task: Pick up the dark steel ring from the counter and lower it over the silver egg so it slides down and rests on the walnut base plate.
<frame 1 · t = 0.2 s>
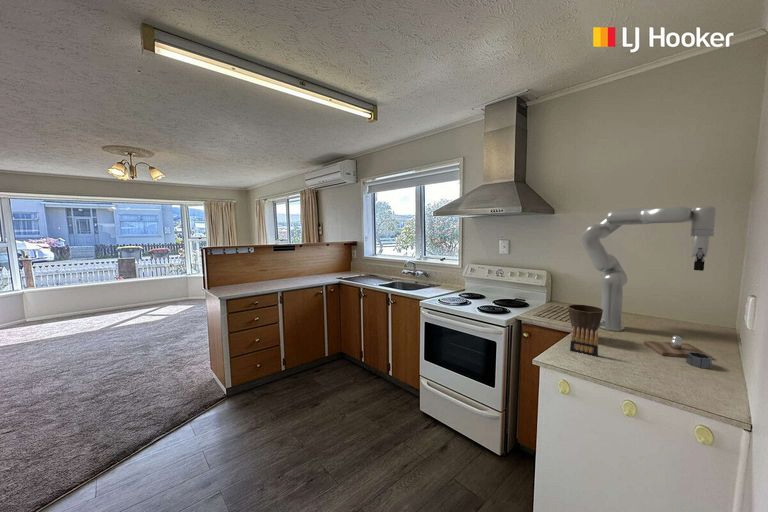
hand: (698, 269, 144), 37 cm above the countertop, tool pointing down, fingers open, 9 cm apart
plant pot: (583, 338, 158), on the countertop
ammunition clip: (583, 353, 140), on the countertop
base plate: (675, 351, 141), on the countertop
steel ring: (698, 364, 127), on the countertop
silver egg: (675, 347, 141), resting on base plate
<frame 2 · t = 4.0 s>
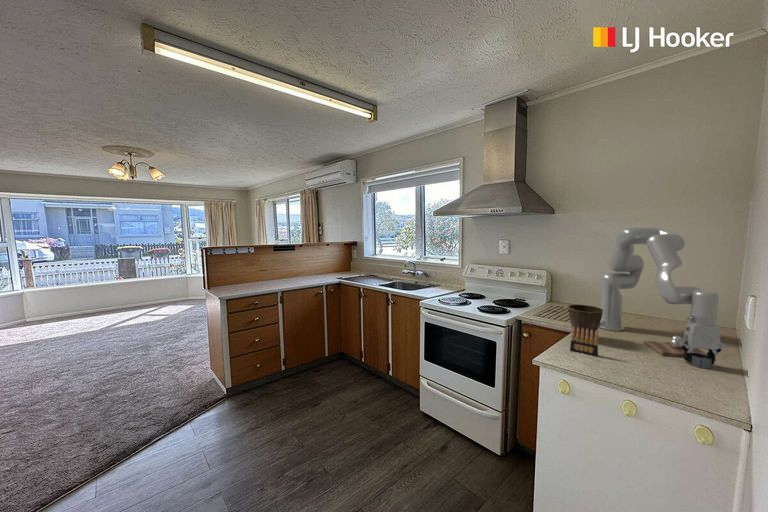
hand: (698, 361, 127), 1 cm above the countertop, tool pointing down, fingers closed on steel ring, 7 cm apart
steel ring: (698, 364, 127), on the countertop, touching gripper
everything else where it was.
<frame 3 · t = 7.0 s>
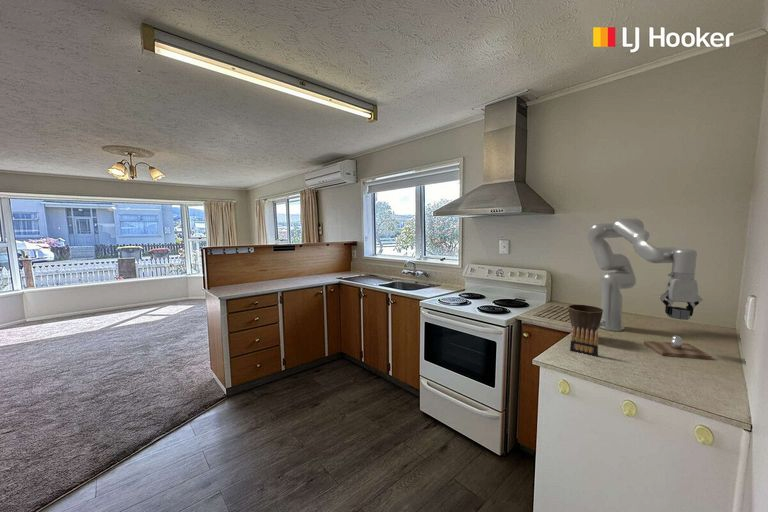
hand: (678, 314, 139), 17 cm above the countertop, tool pointing down, fingers closed on steel ring, 7 cm apart
steel ring: (678, 317, 139), point 16 cm above the countertop, touching gripper
everything else where it was.
when the fingers open (5 cm above the countertop, at t = 10.0 s): steel ring drops 2 cm, resting on base plate.
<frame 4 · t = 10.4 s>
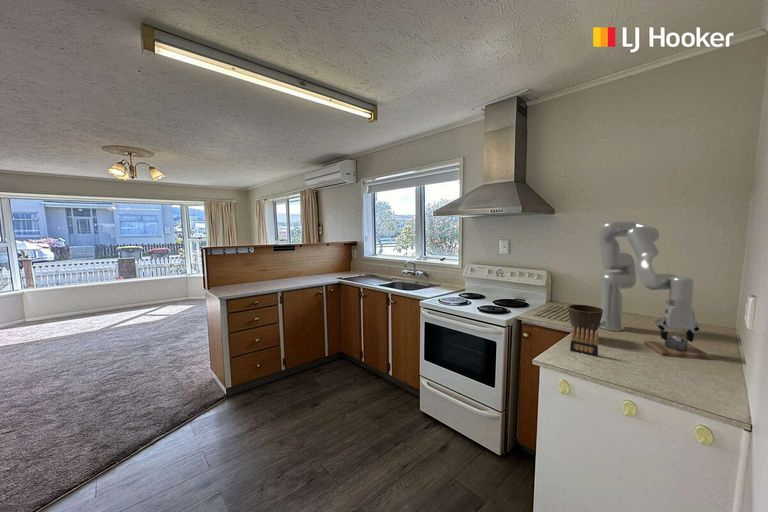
hand: (676, 339, 140), 5 cm above the countertop, tool pointing down, fingers open, 9 cm apart
steel ring: (675, 347, 141), point 1 cm above the countertop, touching base plate
everything else where it was.
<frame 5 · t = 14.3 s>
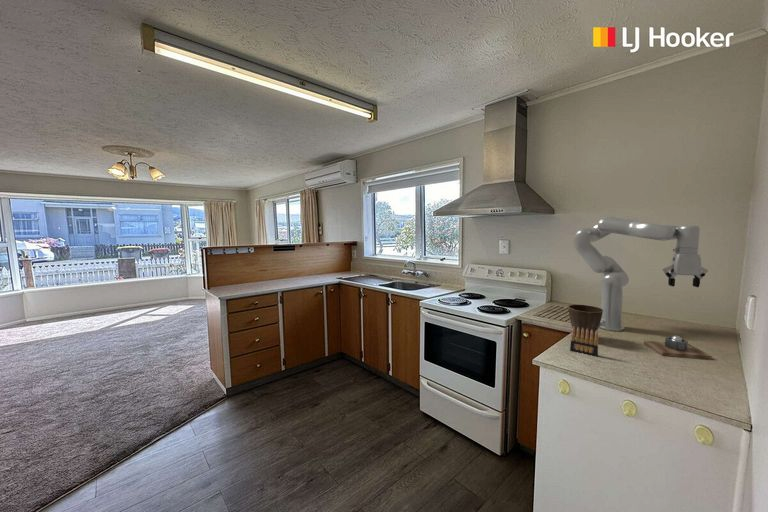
hand: (683, 286, 147), 28 cm above the countertop, tool pointing down, fingers open, 9 cm apart
nothing on the countertop moved.
at the end: steel ring 0.0 cm off-centre on the silver egg, point 0.0 cm above the silver egg's base; steel ring tilted 0°; the gripper is holding nothing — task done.
